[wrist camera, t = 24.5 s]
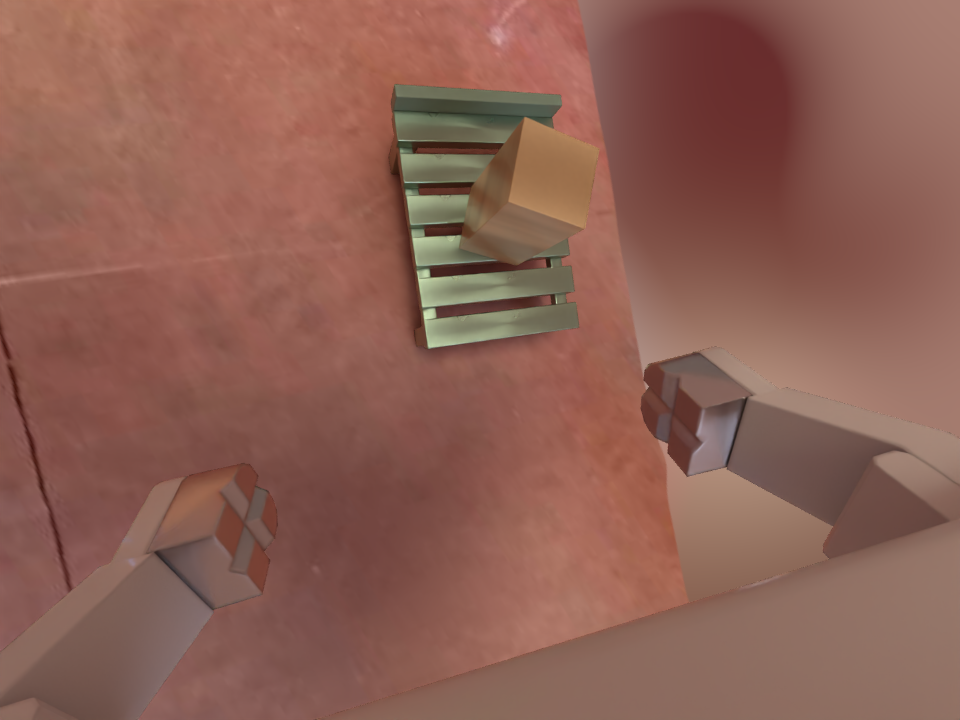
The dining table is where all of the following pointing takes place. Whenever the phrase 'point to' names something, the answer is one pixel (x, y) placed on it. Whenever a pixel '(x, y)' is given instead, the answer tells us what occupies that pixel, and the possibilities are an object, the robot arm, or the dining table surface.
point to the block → (530, 194)
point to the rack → (465, 125)
